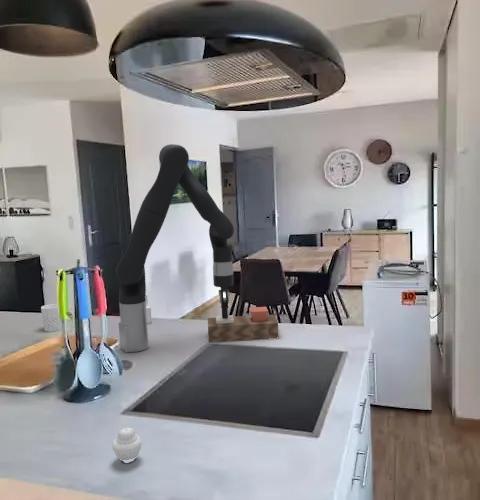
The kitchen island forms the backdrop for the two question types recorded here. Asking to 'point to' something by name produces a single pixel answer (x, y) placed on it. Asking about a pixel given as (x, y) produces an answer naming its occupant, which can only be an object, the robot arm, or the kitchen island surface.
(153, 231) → the robot arm
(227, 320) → the white block
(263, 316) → the red square flowerpot
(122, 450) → the muffin
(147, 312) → the medicine bottle
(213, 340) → the button box
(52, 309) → the white cup
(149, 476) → the kitchen island surface
